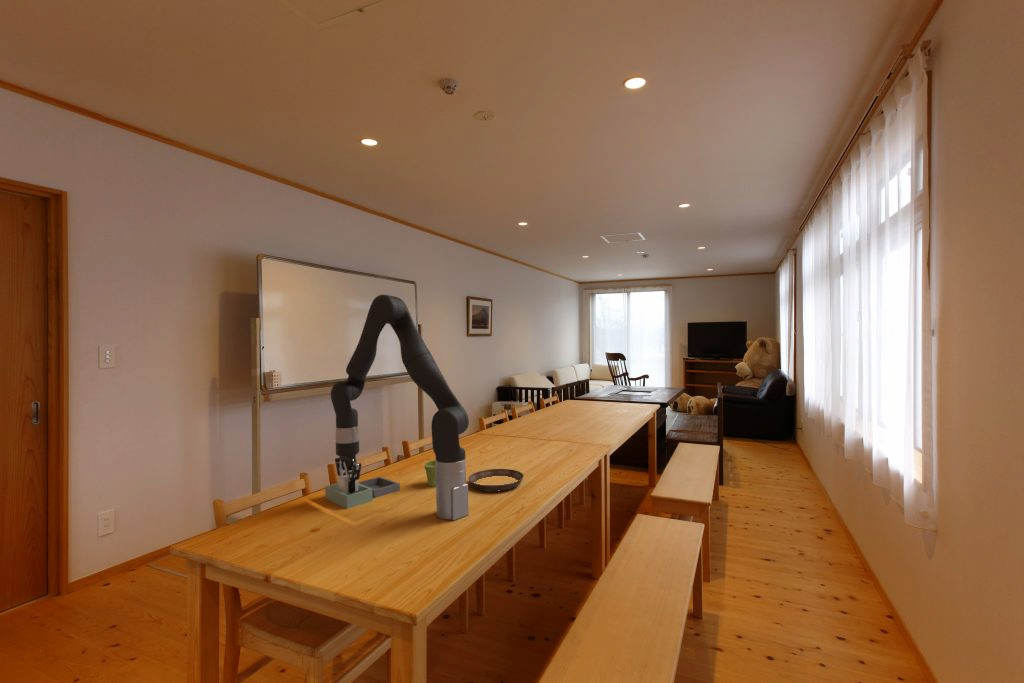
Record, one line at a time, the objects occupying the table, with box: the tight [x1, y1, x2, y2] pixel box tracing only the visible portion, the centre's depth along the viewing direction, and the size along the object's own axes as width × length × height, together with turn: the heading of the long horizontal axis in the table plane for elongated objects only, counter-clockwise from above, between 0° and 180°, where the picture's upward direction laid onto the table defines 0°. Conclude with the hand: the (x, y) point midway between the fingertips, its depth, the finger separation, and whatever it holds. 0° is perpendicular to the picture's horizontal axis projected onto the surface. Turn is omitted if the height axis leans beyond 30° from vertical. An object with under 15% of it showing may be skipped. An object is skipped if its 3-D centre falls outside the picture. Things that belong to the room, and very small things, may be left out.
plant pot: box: [422, 459, 436, 488], centre depth 173 cm, size 9×9×9 cm
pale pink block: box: [337, 475, 359, 494], centre depth 158 cm, size 4×5×5 cm
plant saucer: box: [467, 468, 525, 492], centre depth 175 cm, size 21×21×3 cm
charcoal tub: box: [358, 476, 401, 499], centre depth 167 cm, size 13×10×4 cm
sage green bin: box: [324, 482, 374, 509], centre depth 158 cm, size 15×9×5 cm, turn 48°
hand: (348, 490), depth 158 cm, fingers closed on pale pink block, 4 cm apart
